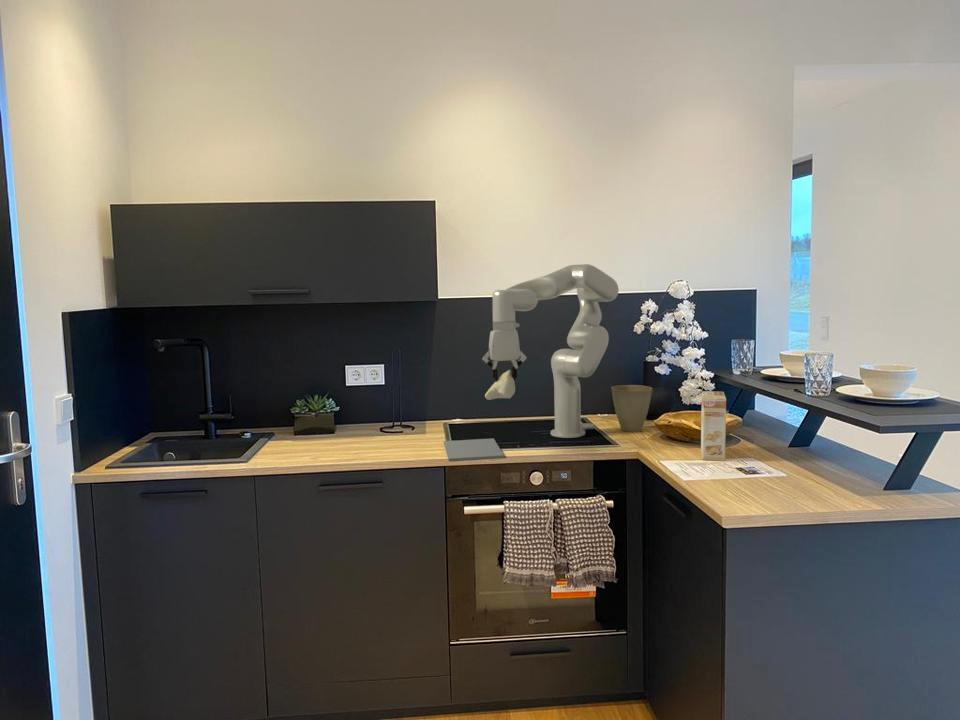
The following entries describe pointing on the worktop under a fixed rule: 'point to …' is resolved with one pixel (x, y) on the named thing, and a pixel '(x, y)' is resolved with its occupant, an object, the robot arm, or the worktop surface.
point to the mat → (472, 449)
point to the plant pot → (631, 405)
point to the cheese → (502, 387)
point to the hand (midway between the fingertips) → (504, 379)
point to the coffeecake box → (713, 425)
